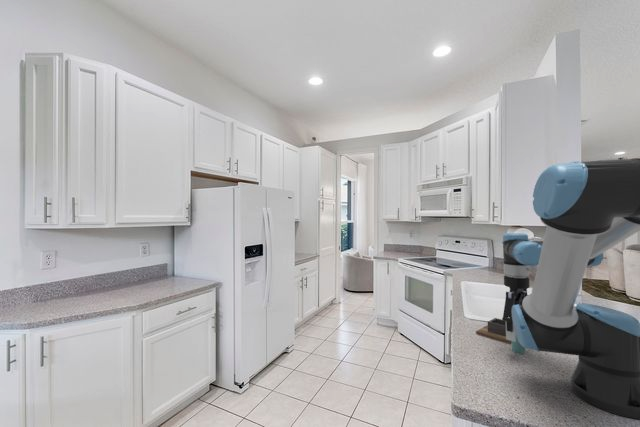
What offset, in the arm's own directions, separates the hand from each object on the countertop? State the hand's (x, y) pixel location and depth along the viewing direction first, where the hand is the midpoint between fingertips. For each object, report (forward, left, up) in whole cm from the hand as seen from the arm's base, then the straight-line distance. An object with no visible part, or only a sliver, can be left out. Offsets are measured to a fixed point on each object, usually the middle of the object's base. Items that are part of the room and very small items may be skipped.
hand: (517, 335), depth 99 cm
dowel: (0, 0, -6) cm, 6 cm away
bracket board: (+11, +10, -6) cm, 15 cm away
